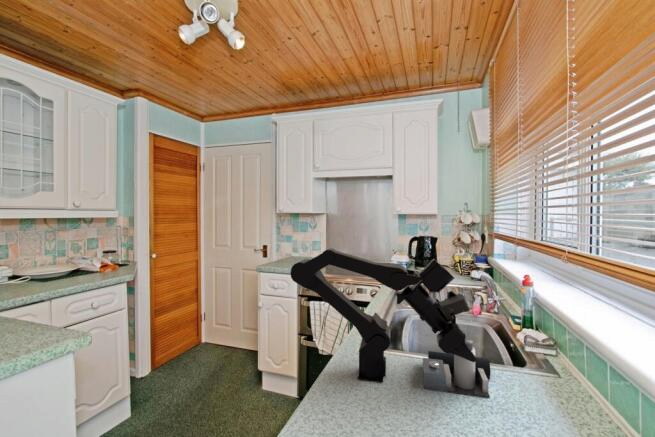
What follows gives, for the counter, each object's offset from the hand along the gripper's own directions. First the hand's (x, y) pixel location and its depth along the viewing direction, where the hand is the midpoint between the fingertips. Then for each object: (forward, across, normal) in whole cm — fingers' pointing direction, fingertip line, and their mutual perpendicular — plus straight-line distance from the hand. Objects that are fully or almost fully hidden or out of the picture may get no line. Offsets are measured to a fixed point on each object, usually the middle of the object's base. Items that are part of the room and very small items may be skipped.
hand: (470, 352), depth 77 cm
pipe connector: (+5, +10, +8) cm, 13 cm away
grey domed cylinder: (+5, 0, +7) cm, 8 cm away
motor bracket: (+3, 0, +9) cm, 9 cm away
